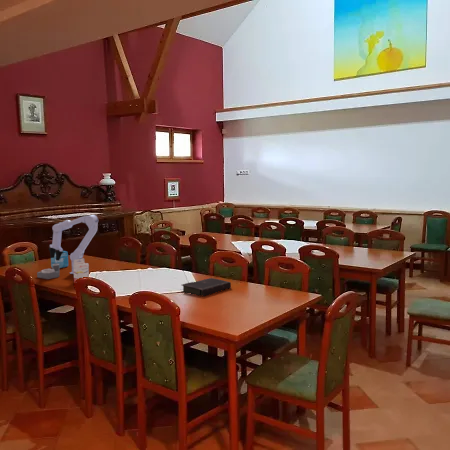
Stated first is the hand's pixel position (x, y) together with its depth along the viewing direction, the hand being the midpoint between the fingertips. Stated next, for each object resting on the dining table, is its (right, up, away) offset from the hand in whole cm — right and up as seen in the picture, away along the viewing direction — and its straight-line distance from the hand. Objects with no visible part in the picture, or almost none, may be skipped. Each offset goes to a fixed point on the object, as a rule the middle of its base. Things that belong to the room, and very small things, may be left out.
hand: (55, 259), depth 336 cm
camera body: (0, -12, -12) cm, 17 cm away
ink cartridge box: (+27, -13, -27) cm, 40 cm away
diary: (+110, -15, -55) cm, 124 cm away
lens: (+1, -10, 0) cm, 10 cm away
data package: (-4, -8, +23) cm, 25 cm away
